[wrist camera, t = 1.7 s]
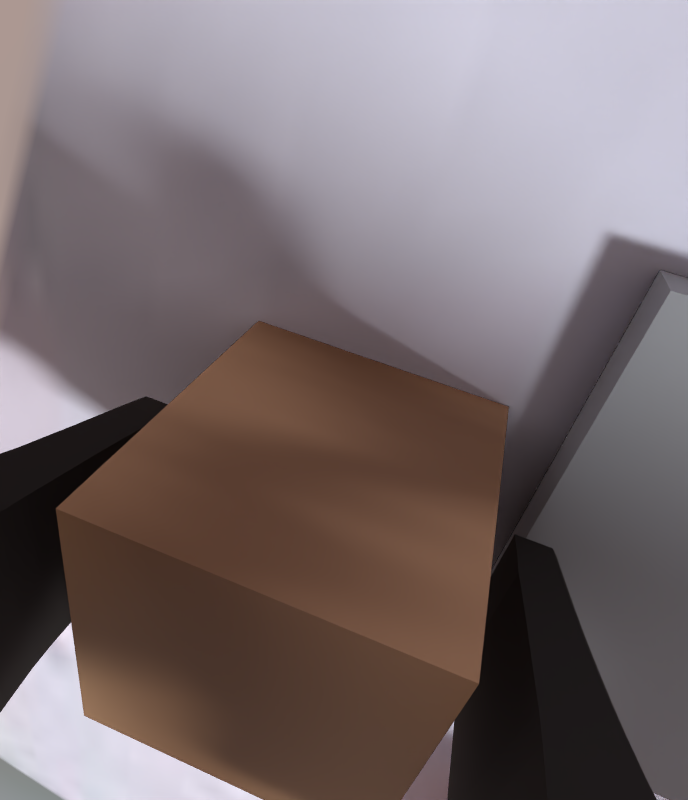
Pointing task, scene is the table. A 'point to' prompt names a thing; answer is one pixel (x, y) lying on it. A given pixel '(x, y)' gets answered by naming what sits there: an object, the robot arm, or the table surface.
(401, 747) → the walnut block
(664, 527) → the baseplate
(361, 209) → the table surface
